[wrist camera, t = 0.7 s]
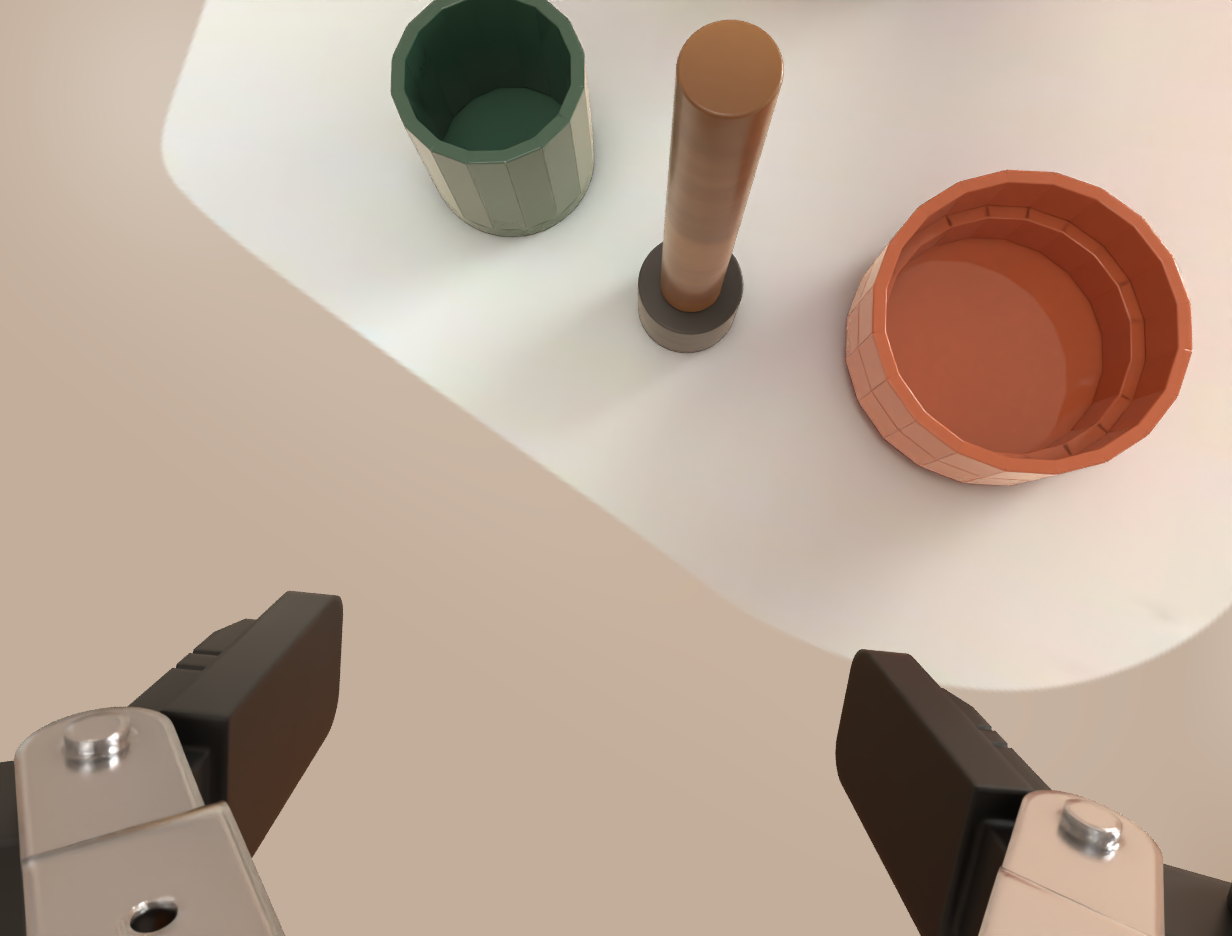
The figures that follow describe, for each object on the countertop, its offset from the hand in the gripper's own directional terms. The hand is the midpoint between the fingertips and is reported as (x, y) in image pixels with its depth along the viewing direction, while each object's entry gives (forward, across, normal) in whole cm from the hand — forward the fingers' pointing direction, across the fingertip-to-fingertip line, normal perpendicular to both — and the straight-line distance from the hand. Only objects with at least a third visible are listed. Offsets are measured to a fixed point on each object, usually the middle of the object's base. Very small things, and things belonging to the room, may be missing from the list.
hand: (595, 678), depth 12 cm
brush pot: (+30, +5, -12) cm, 33 cm away
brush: (+27, -4, -6) cm, 28 cm away
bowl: (+26, -18, -6) cm, 32 cm away
